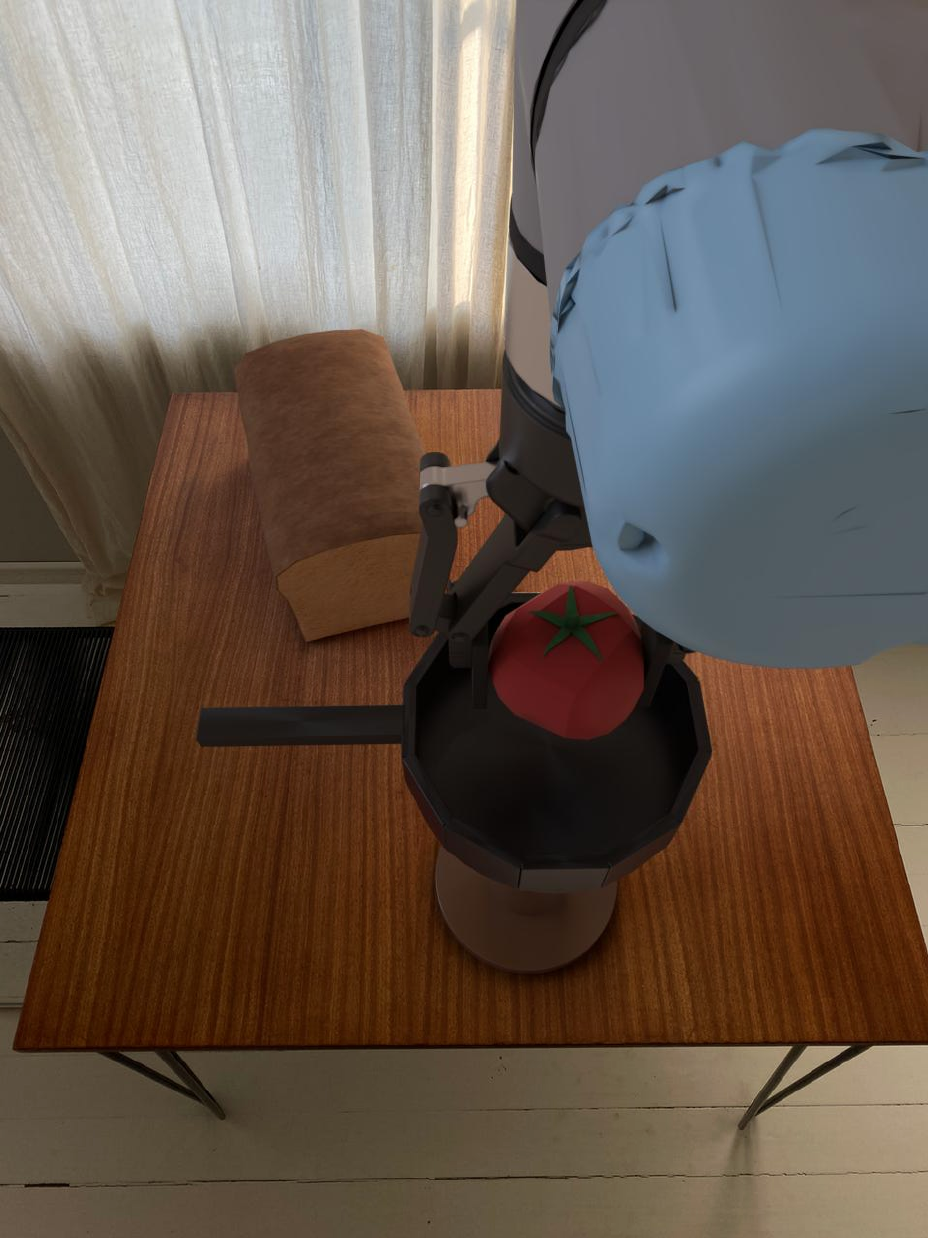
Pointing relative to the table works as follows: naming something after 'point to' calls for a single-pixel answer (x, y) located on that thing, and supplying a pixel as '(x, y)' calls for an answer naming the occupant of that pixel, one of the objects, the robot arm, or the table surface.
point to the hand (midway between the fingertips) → (559, 685)
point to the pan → (515, 797)
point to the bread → (334, 476)
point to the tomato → (569, 660)
